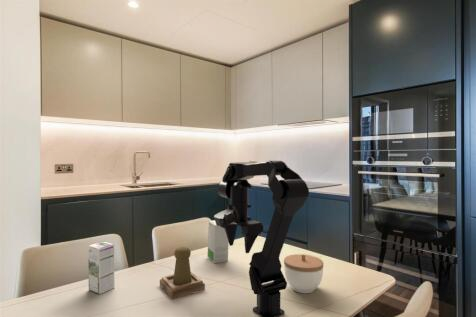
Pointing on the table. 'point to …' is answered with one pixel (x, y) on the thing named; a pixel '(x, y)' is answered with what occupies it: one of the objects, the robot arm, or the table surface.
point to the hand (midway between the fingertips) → (238, 249)
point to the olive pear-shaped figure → (182, 266)
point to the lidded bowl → (303, 272)
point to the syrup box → (101, 267)
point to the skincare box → (217, 243)
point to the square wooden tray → (181, 286)
